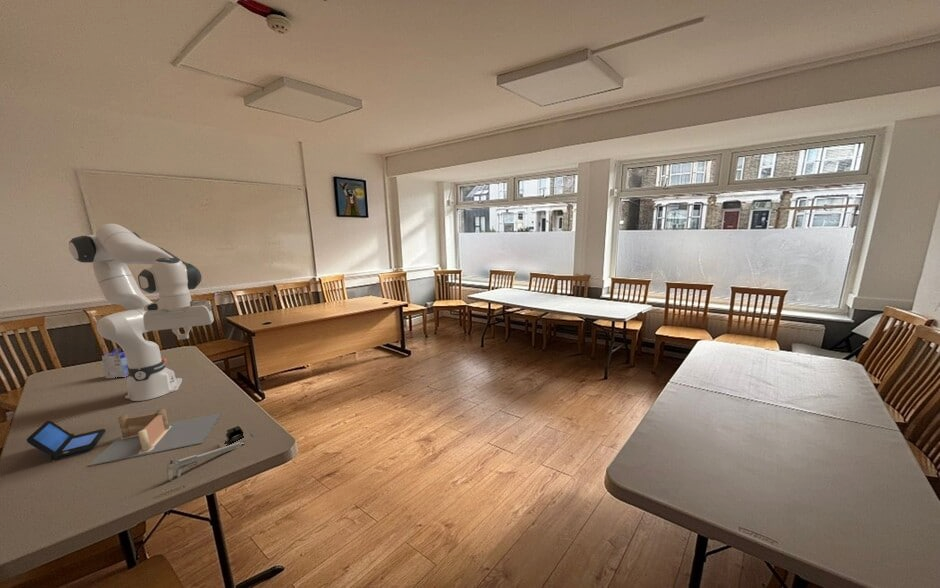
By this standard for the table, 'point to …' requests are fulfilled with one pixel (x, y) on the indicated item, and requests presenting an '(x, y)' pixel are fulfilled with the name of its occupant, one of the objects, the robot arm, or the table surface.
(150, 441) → the fence panel
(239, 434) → the black angular piece
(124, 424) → the fixed fence
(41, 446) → the handheld game console
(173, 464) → the caliper
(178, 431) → the board
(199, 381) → the table surface
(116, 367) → the ink cartridge box
